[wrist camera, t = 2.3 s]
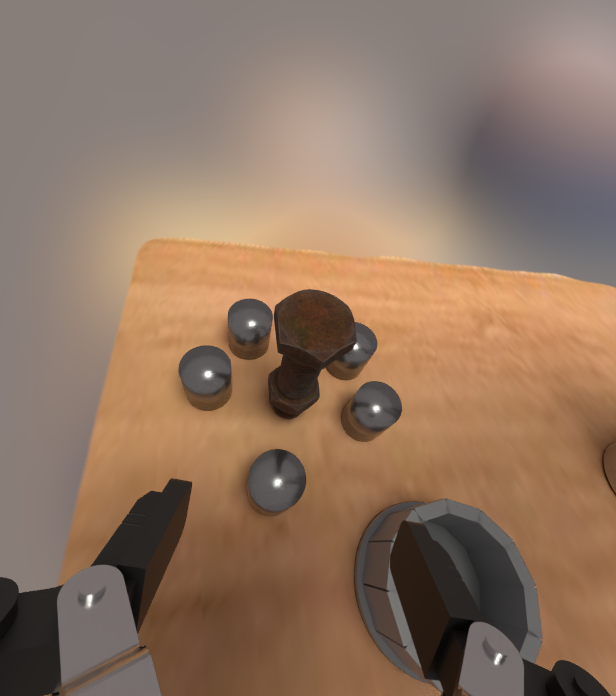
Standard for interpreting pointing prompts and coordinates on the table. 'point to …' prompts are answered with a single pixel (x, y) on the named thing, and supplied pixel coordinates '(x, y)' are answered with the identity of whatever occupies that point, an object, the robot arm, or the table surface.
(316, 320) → the bolt
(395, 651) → the round gray container
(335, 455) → the table surface
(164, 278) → the table surface
